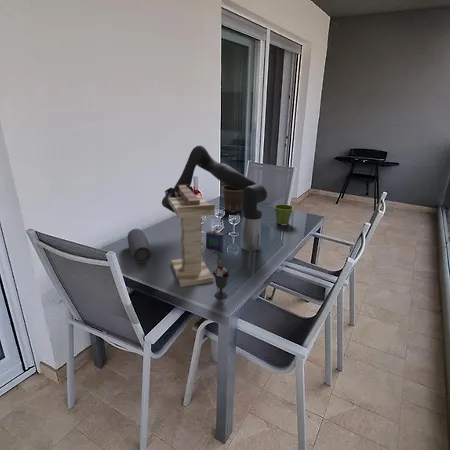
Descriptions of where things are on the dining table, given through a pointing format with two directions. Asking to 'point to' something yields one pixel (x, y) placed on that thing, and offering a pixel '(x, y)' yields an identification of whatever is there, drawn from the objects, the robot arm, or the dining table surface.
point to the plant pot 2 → (283, 213)
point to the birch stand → (191, 242)
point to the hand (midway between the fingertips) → (183, 187)
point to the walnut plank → (188, 195)
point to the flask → (214, 240)
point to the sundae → (221, 280)
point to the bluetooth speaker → (139, 246)
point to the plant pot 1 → (232, 198)
